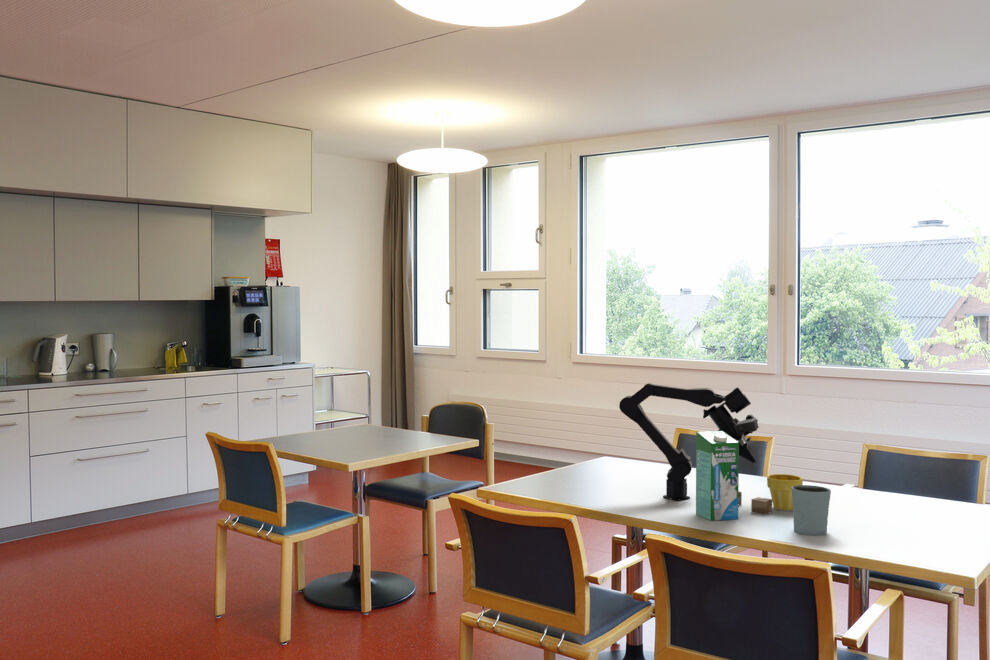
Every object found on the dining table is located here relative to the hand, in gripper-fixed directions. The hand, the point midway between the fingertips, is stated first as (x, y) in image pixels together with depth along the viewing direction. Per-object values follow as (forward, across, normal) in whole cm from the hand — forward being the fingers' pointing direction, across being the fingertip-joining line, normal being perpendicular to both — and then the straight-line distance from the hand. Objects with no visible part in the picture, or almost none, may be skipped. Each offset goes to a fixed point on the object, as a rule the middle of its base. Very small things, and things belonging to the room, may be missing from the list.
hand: (754, 461), depth 260 cm
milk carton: (+4, -26, +10) cm, 28 cm away
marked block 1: (+6, -6, +12) cm, 15 cm away
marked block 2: (+12, -13, +3) cm, 18 cm away
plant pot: (+16, -5, 0) cm, 17 cm away
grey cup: (+19, -30, -12) cm, 37 cm away
